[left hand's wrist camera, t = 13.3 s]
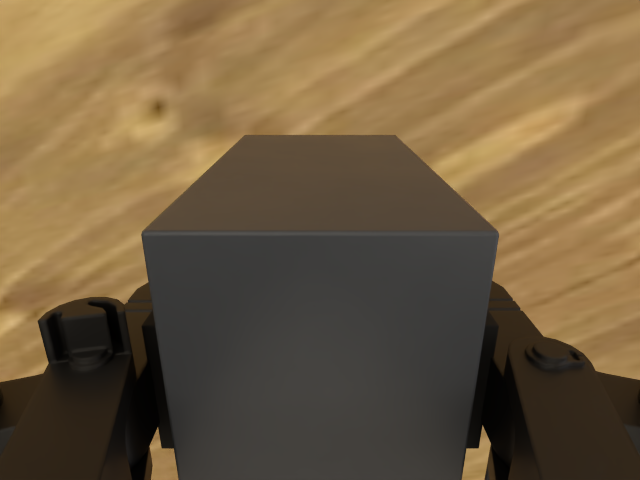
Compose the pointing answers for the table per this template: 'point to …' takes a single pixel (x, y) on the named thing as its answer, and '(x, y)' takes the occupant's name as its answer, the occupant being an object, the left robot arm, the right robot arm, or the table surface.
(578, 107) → the table surface
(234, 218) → the bar
